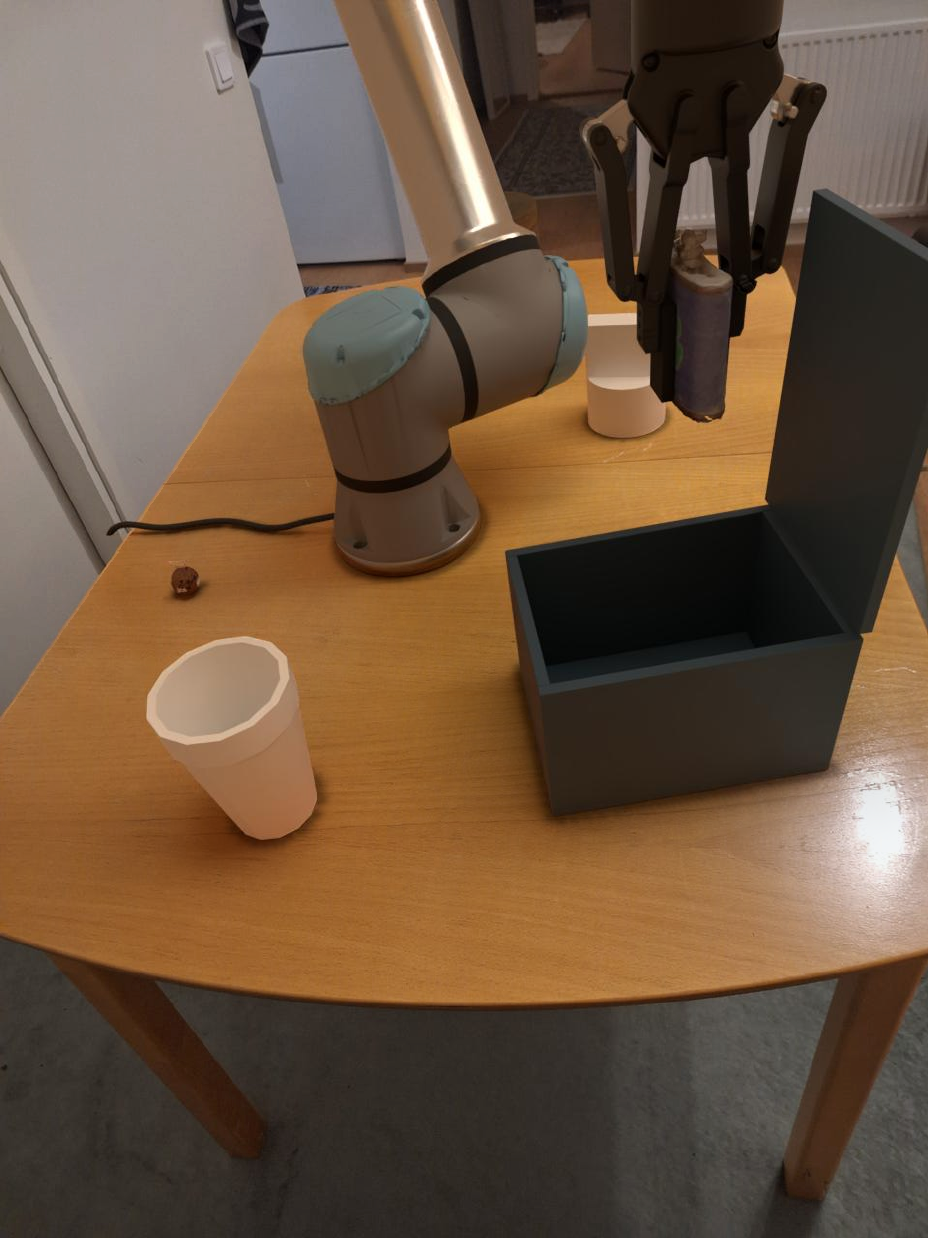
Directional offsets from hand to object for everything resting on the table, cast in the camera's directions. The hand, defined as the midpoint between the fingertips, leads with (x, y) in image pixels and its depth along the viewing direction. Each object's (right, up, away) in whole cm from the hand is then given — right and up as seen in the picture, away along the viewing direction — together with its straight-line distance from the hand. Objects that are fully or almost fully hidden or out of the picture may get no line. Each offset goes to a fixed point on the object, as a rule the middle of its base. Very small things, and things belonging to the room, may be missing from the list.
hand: (687, 387), depth 55 cm
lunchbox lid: (+6, -4, -9) cm, 12 cm away
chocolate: (-43, -13, +27) cm, 53 cm away
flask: (0, 0, +1) cm, 1 cm away
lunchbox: (0, -23, +7) cm, 24 cm away
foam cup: (-29, -30, +6) cm, 42 cm away
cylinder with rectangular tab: (+4, +8, +40) cm, 41 cm away
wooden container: (-11, +24, +61) cm, 66 cm away
